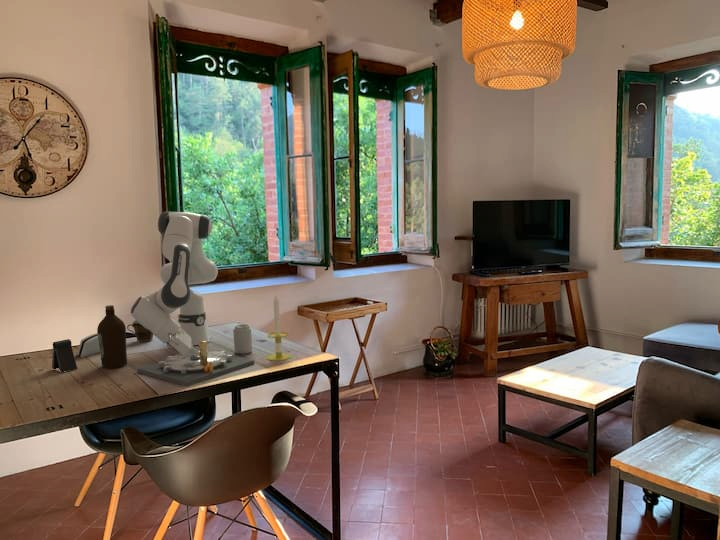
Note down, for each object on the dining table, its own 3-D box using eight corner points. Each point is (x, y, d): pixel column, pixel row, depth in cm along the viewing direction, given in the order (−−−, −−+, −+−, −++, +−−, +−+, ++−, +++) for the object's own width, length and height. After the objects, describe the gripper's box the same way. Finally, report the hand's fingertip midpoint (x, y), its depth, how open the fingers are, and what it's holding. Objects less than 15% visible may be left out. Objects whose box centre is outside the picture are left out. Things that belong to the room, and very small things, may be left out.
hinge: (106, 347, 258) (109, 328, 255) (113, 351, 256) (116, 332, 253) (74, 356, 243) (77, 336, 240) (81, 360, 241) (84, 340, 238)
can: (254, 350, 243) (252, 323, 242) (249, 354, 236) (247, 327, 235) (237, 350, 244) (236, 323, 243) (232, 354, 237) (230, 327, 235)
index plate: (137, 372, 215) (136, 358, 215) (204, 353, 241) (203, 341, 240) (186, 386, 196) (185, 371, 195) (254, 363, 221) (253, 350, 221)
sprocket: (148, 374, 205) (146, 346, 204) (175, 354, 232) (173, 329, 231) (219, 373, 204) (218, 344, 203) (238, 353, 231) (237, 327, 230)
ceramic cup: (150, 337, 275) (149, 317, 274) (159, 340, 268) (157, 320, 267) (124, 342, 266) (122, 322, 265) (132, 345, 259) (131, 325, 258)
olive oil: (128, 360, 233) (123, 302, 230) (129, 367, 223) (124, 306, 220) (100, 364, 228) (95, 305, 225) (100, 371, 219) (94, 309, 216)
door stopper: (77, 369, 222) (74, 340, 221) (62, 373, 217) (59, 343, 216) (67, 366, 227) (64, 337, 226) (51, 369, 223) (49, 340, 221)
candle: (294, 354, 233) (291, 292, 230) (285, 361, 224) (282, 296, 220) (273, 353, 236) (269, 292, 233) (263, 360, 226) (259, 295, 223)
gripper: (174, 330, 195) (204, 354, 198) (176, 320, 214) (203, 342, 218) (161, 343, 194) (192, 368, 198) (164, 332, 213) (192, 354, 217)
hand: (198, 354), depth 208 cm, fingers closed, pressing on sprocket
